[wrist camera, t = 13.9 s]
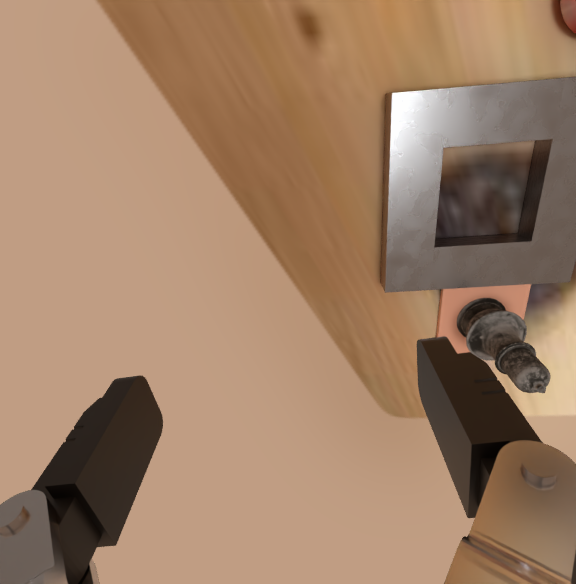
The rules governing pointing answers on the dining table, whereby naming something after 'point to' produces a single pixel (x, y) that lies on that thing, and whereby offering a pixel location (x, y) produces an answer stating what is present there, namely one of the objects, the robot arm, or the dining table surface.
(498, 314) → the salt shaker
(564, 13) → the liquor
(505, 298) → the tile
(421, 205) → the grey square frame
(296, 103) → the dining table surface
